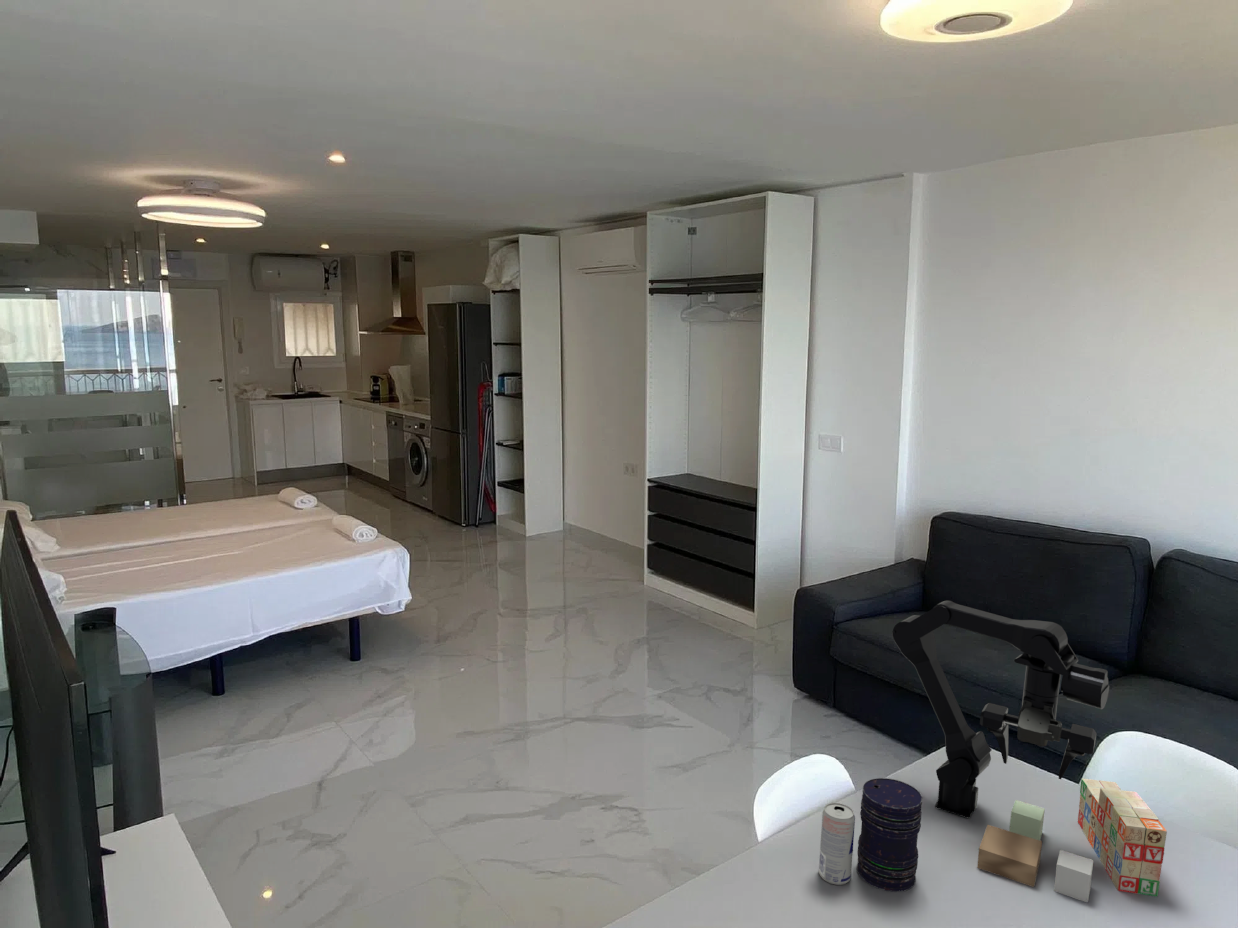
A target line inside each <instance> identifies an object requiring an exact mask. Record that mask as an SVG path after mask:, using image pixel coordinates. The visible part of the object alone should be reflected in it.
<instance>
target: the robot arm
mask: <svg viewBox="0 0 1238 928" xmlns="http://www.w3.org/2000/svg"><path fill="white" fill-rule="evenodd" d="M944 625H947V626H950V627H955V628H957V629H958V628H959V629H962V630H965V631H968V632H972V633H976V634H979V635H982V636H986V637H989V638H993V639H996V640H999V641H1002V642H1006V643H1008V644H1009V645H1012V646H1013V647H1014V648H1016V649H1017V650H1019V651H1020V652H1022V654H1019V655H1018V656H1017V657H1015V658H1014V659H1013V662H1014V663H1015V664H1019V665H1023V666H1025V674H1024V683H1023V691H1022V692H1023V693H1022V701H1021V708H1020V709H1019V711H1018V715H1013V714H1009V713H1008V712H1009V708H1008V707H1007V706H1003V705H999V704H997V703H996V704H995V703H991V702H988V703H987V704H985V705H984V707H983V709H982V710H981V712H980V717H979V725H981V726H982V727H985V728H986V729H987V730H986V731H988V732H990V733H992V734H993V735H994V736H995V738H996V740H997V744H998V747H999V750H1000V753H1001V758H1002V762H1003V764H1006V765H1007V762H1008V757H1009V726H1012V727H1015V728H1017V732H1016V733H1017V734H1016V735H1017V736H1016V737H1017V739H1018V741H1020V742H1023V743H1028V744H1033V745H1036V746H1038V747H1046V746H1047V745H1048V741H1049V742H1051V743H1053V742H1054V741H1055V742H1060V741H1061V739H1063V740H1066V741H1067V744H1066V746H1065V747H1066V748H1065V751H1064V754H1063V758H1062V761H1061V764H1060V768H1059V771H1058V780H1062V778H1063V777H1064V775H1065V774H1066V771H1067V769H1068V767H1069V766H1070V764H1071V762H1073V760H1074V759H1075V758H1076V757H1078V756H1080V757H1083V756H1085V754H1087V755H1093V754H1094V751H1095V746H1096V741H1097V740H1096V739H1097V732H1096V730H1095V729H1094V728H1092V727H1088V726H1083V725H1080V724H1076V723H1072V724H1071V728H1070V729H1069V728H1065V727H1063V724H1062V723H1063V722H1062V721H1060V720H1057V709H1058V702H1059V693H1060V692H1061V693H1062V696H1063V697H1066V700H1067V701H1072V702H1075V703H1079V704H1083V705H1086V706H1089V707H1092V708H1096V709H1100V710H1103V709H1104V708H1105V707H1106V703H1107V702H1108V698H1109V693H1110V692H1109V691H1110V685H1109V678H1108V677H1109V676H1108V673H1109V672H1108V670H1107V669H1103V668H1099V667H1091V666H1088V665H1084V664H1080V663H1078V662H1079V658H1078V657H1077V655H1076V654H1075V652H1074V651H1073V649H1072V647H1071V646H1070V644H1069V642H1068V640H1069V639H1068V635H1067V633H1066V631H1065V630H1064V628H1063V626H1062V625H1060V624H1058V623H1056V622H1053V621H1047V620H1046V621H1045V620H1036V619H1013V618H1010V617H1006V616H1002V615H999V614H995V613H991V612H988V611H984V610H981V609H978V608H977V609H976V608H973V607H970V606H966V605H962V604H958V603H956V602H953V601H952V600H944V601H941V602H939V603H937V604H935V605H934V606H933V608H931V609H929V610H928V611H927V612H925V613H923V614H921V615H917V614H916V615H913V614H912V615H911V616H909V617H906V618H905V619H903V620H901V621H899V622H897V623H896V624H895V625H894V626H893V630H892V633H891V636H892V640H893V641H894V643H895V645H896V646H897V648H898V649H899V651H900V653H901V654H902V655H903V656H904V657H905V659H907V660H908V661H909V662H910V663H911V664H912V665H913V666H914V668H915V670H916V673H917V675H918V677H919V680H920V682H921V685H922V687H924V688H923V689H924V691H925V692H926V695H927V697H928V699H929V702H930V704H931V706H932V708H933V711H934V713H935V715H936V718H937V719H938V722H939V725H940V726H941V728H942V731H943V734H944V742H945V744H944V745H945V746H944V747H945V754H946V757H947V760H946V761H945V762H944V763H942V764H941V765H940V766H939V767H938V768H937V769H935V770H936V771H935V773H936V776H937V780H938V781H939V782H938V793H937V794H938V795H937V800H936V803H935V805H934V807H935V808H936V809H939V810H941V811H945V812H947V813H948V812H949V813H951V814H954V815H957V816H960V817H963V818H966V819H970V818H971V816H972V814H973V813H975V812H976V809H977V807H978V799H979V787H978V786H977V778H978V777H979V776H980V775H981V774H982V773H983V772H984V771H985V770H986V769H987V767H989V765H990V763H991V760H992V756H991V752H992V748H991V747H990V746H989V744H988V742H987V741H986V737H985V736H986V735H985V734H984V732H983V731H982V730H980V731H978V732H975V731H974V730H973V729H972V728H971V727H970V726H969V725H968V723H967V720H966V718H965V715H964V714H963V712H962V710H961V708H960V704H959V702H958V701H957V699H956V696H955V694H954V693H953V690H952V687H951V686H950V683H949V681H948V679H947V677H946V674H945V672H944V670H943V667H942V666H941V663H940V661H939V659H938V655H937V639H936V637H935V632H934V631H936V629H938V628H940V627H942V626H944ZM1061 676H1062V677H1061Z"/></svg>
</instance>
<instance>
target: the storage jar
mask: <svg viewBox="0 0 1238 928" xmlns="http://www.w3.org/2000/svg"><path fill="white" fill-rule="evenodd" d="M922 804H923V796H922V794H921V792H920V791H919V790H918V789H916V788H915V787H914V786H912V785H910V784H909V783H906V782H903V781H901V780H897V779H894V778H887V777H884V778H883V777H878V778H872V779H869V780H867V781H866V782H864V784H863V785H862V795H861V800H860V813H859V815H860V820H861V826H860V827H861V828H860V835H859V837H858V841H857V844H858V845H857V855H856V856H857V865H856V870H857V873H858V875H859V876H860V878H861V879H862V880H863V881H864V882H866V883H867V884H869V885H871V886H872V887H874V888H876V889H878V890H881V891H886V892H893V893H896V892H898V893H899V892H905V891H906V892H907V891H908V890H910V889H912V888H913V887H914V886H915V885H916V879H917V878H916V877H917V876H916V873H917V869H918V862H919V861H918V858H919V849H918V847H917V845H918V835H919V833H920V830H921V828H922V827H921V825H922V823H921V822H922Z"/></svg>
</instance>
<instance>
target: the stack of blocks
mask: <svg viewBox="0 0 1238 928" xmlns="http://www.w3.org/2000/svg"><path fill="white" fill-rule="evenodd" d="M1079 793H1080V796H1079V804H1078V813H1077V814H1078V815H1077V823H1078V825H1079V826H1080V827H1081V828H1080V829H1082V832H1083V834H1084V835H1085V837H1086V839H1087V840H1088V843H1089V844H1090V845H1091V848H1092V849H1093V850H1094V852H1095V854H1096V855H1097V858H1098V859H1099V860H1100V862H1101V864H1102V865H1103V867H1104V869H1105V872H1106V873H1107V874H1108V876H1109V878H1110V879H1111V882H1112V883H1113V886H1114V887H1115V888H1116V890H1117V891H1118V892H1125V893H1130V894H1136V895H1137V894H1139V895H1145V896H1152V897H1158V895H1159V890H1160V883H1161V880H1160V878H1161V874H1162V864H1163V862H1164V855H1165V846H1166V840H1167V834H1168V831H1167V829H1166V828H1165V826H1164V825H1163V824H1162V823H1161V822H1160V819H1159V818H1158V816H1157V815H1156V814H1155V812H1154V811H1153V810H1152V809H1151V808H1150V807H1149V805H1148V804H1147V802H1146V801H1144V799H1143V798H1142V797H1141V795H1139V793H1138V792H1137V791H1131V790H1123V789H1121V787H1120V786H1119V785H1118V783H1117V782H1115V781H1110V780H1109V781H1108V780H1102V779H1101V780H1100V779H1090V778H1081V780H1080V788H1079Z"/></svg>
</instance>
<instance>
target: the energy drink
mask: <svg viewBox="0 0 1238 928" xmlns="http://www.w3.org/2000/svg"><path fill="white" fill-rule="evenodd" d="M855 823H856V816H855V812H854V810H853V808H851V807H850V806H848V805H847V804H844V803H841V802H840V803H839V802H830V803H827V804H825V806H824V808H823V810H822V814H821V830H820V831H821V832H820V845H819V863H818V874H819V876H820V877H821V878H822V880H824V881H825V882H826V883H828V884H831V885H836V886H842V885H846V884H847V883H849V882H850V881H851V879H852V878H851V877H852V869H853V868H852V867H853V851H854V838H855V826H856V825H855Z"/></svg>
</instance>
